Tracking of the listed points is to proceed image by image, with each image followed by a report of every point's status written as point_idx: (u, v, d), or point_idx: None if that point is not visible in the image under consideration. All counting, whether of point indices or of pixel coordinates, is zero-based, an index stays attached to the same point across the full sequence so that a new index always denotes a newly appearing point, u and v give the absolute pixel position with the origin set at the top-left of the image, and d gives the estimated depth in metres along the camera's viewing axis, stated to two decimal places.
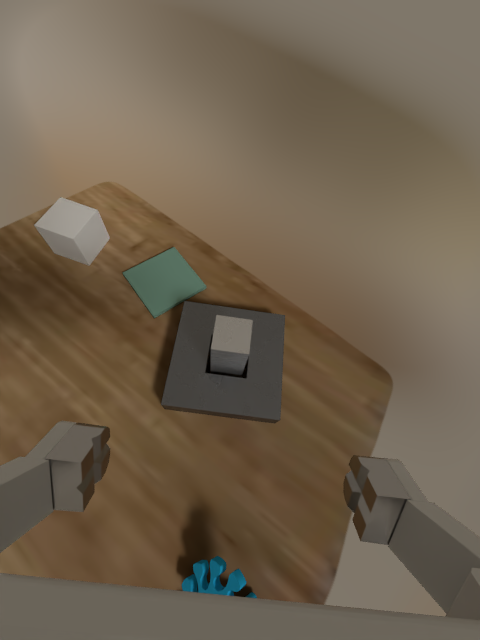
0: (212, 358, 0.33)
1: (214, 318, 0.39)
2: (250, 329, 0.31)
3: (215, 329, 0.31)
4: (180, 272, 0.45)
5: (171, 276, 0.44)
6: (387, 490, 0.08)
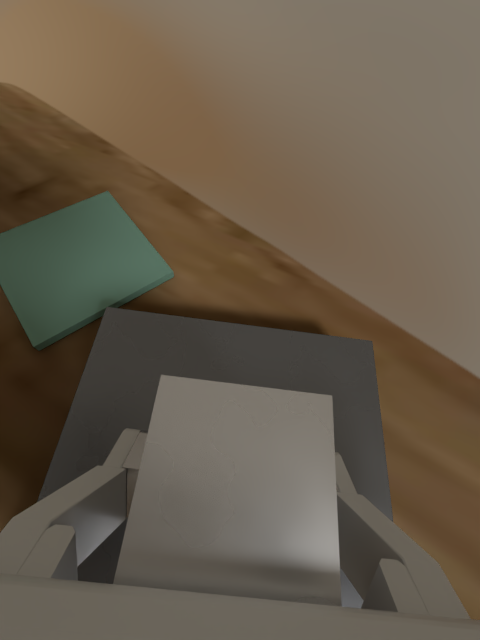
0: None
1: (185, 354, 0.14)
2: (328, 449, 0.06)
3: (149, 459, 0.06)
4: (115, 242, 0.20)
5: (93, 250, 0.19)
6: None
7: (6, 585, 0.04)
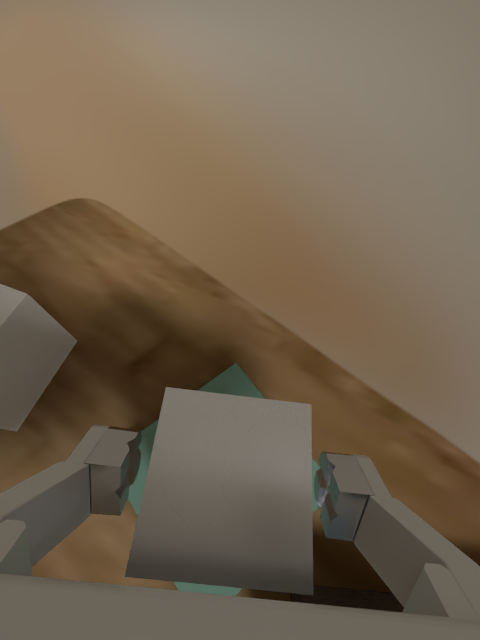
0: None
1: None
2: (306, 450, 0.07)
3: (156, 458, 0.07)
4: None
5: None
6: (351, 486, 0.08)
7: (6, 585, 0.04)
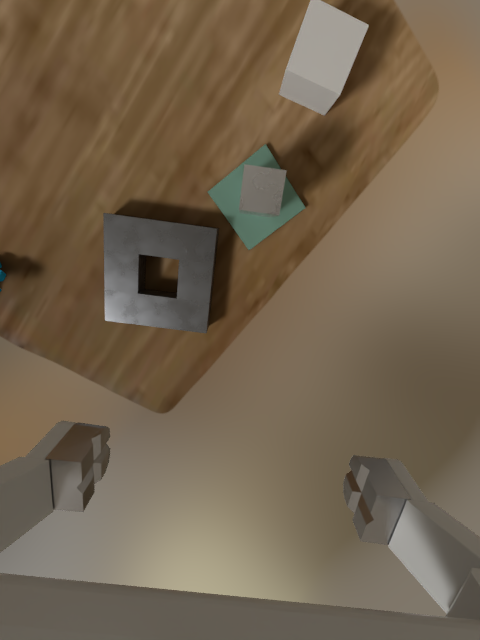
0: None
1: (197, 262, 0.38)
2: (267, 212, 0.28)
3: (267, 169, 0.27)
4: (267, 218, 0.38)
5: None
6: (387, 490, 0.08)
7: (6, 585, 0.04)
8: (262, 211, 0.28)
